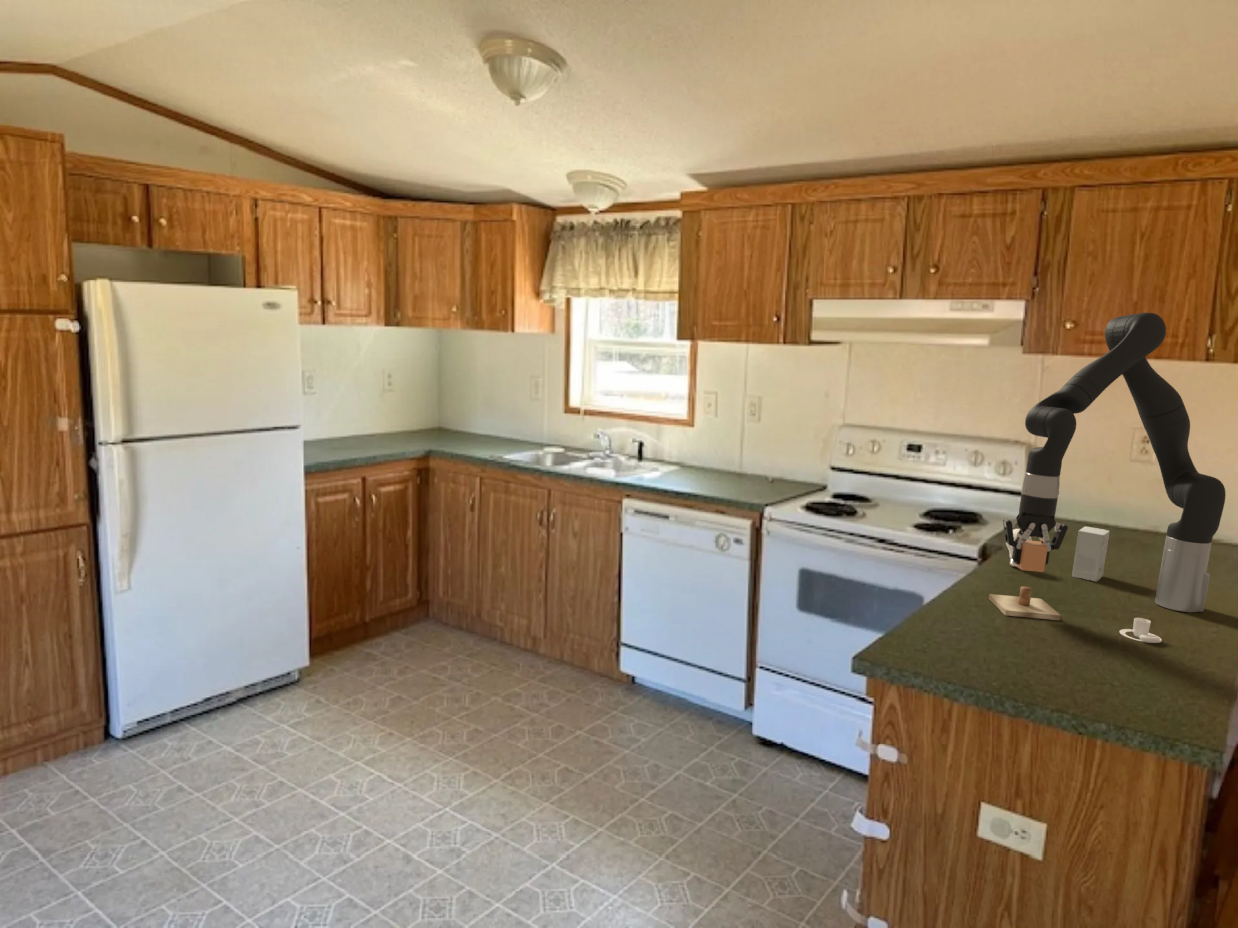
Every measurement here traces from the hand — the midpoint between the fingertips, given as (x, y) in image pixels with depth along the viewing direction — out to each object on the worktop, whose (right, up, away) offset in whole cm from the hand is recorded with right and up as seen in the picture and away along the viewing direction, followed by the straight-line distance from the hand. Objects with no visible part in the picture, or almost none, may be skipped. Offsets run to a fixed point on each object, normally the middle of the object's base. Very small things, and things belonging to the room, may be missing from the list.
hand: (1029, 564), depth 195 cm
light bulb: (+15, -6, +39) cm, 42 cm away
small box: (+32, -8, +34) cm, 48 cm away
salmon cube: (0, -1, 0) cm, 1 cm away
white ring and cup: (+15, -15, -13) cm, 25 cm away
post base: (-1, -11, +2) cm, 11 cm away
